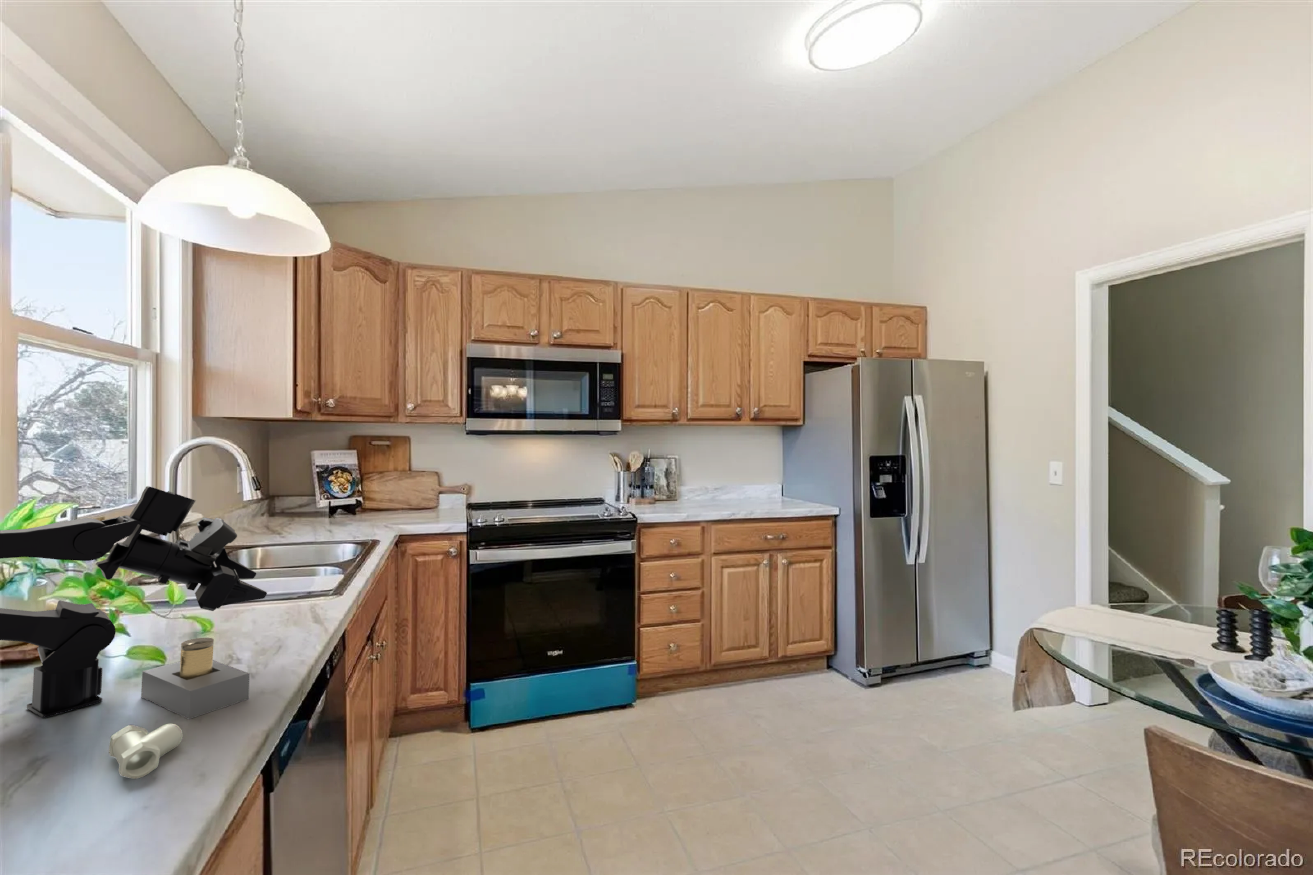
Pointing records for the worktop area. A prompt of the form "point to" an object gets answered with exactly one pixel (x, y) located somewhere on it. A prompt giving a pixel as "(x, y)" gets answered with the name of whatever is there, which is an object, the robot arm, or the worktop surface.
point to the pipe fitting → (142, 748)
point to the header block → (195, 689)
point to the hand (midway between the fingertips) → (260, 585)
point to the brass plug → (196, 658)
